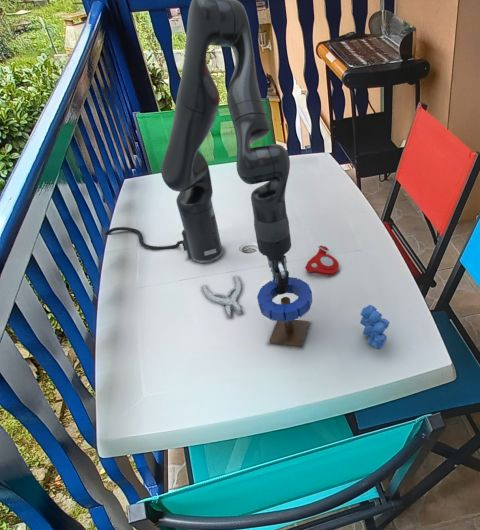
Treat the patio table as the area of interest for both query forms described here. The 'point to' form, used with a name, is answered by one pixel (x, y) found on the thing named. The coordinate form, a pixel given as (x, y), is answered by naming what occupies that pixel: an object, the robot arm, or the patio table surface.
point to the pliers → (229, 302)
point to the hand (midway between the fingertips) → (280, 288)
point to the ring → (288, 310)
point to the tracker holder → (322, 263)
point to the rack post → (289, 330)
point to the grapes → (374, 326)
